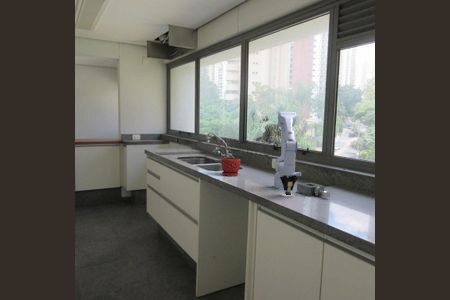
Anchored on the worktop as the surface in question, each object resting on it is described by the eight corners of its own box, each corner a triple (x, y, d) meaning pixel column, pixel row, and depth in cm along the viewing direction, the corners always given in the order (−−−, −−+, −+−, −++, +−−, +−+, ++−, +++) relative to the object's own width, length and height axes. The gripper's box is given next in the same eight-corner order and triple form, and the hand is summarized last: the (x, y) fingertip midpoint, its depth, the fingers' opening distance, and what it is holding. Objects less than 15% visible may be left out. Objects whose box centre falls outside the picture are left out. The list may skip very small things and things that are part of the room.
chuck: (296, 192, 173) (297, 183, 173) (311, 191, 177) (311, 182, 177) (320, 200, 157) (320, 190, 156) (335, 199, 161) (335, 189, 161)
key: (284, 194, 166) (284, 181, 166) (288, 194, 167) (289, 180, 167) (287, 195, 164) (287, 182, 163) (291, 195, 165) (292, 181, 164)
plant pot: (237, 177, 214) (237, 159, 213) (218, 175, 218) (219, 158, 217) (242, 174, 227) (242, 157, 226) (224, 173, 231) (225, 156, 230)
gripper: (282, 165, 157) (281, 192, 159) (305, 164, 164) (304, 190, 165) (274, 163, 164) (273, 189, 165) (296, 163, 170) (295, 188, 171)
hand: (288, 190), depth 165 cm, fingers closed on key, 3 cm apart
